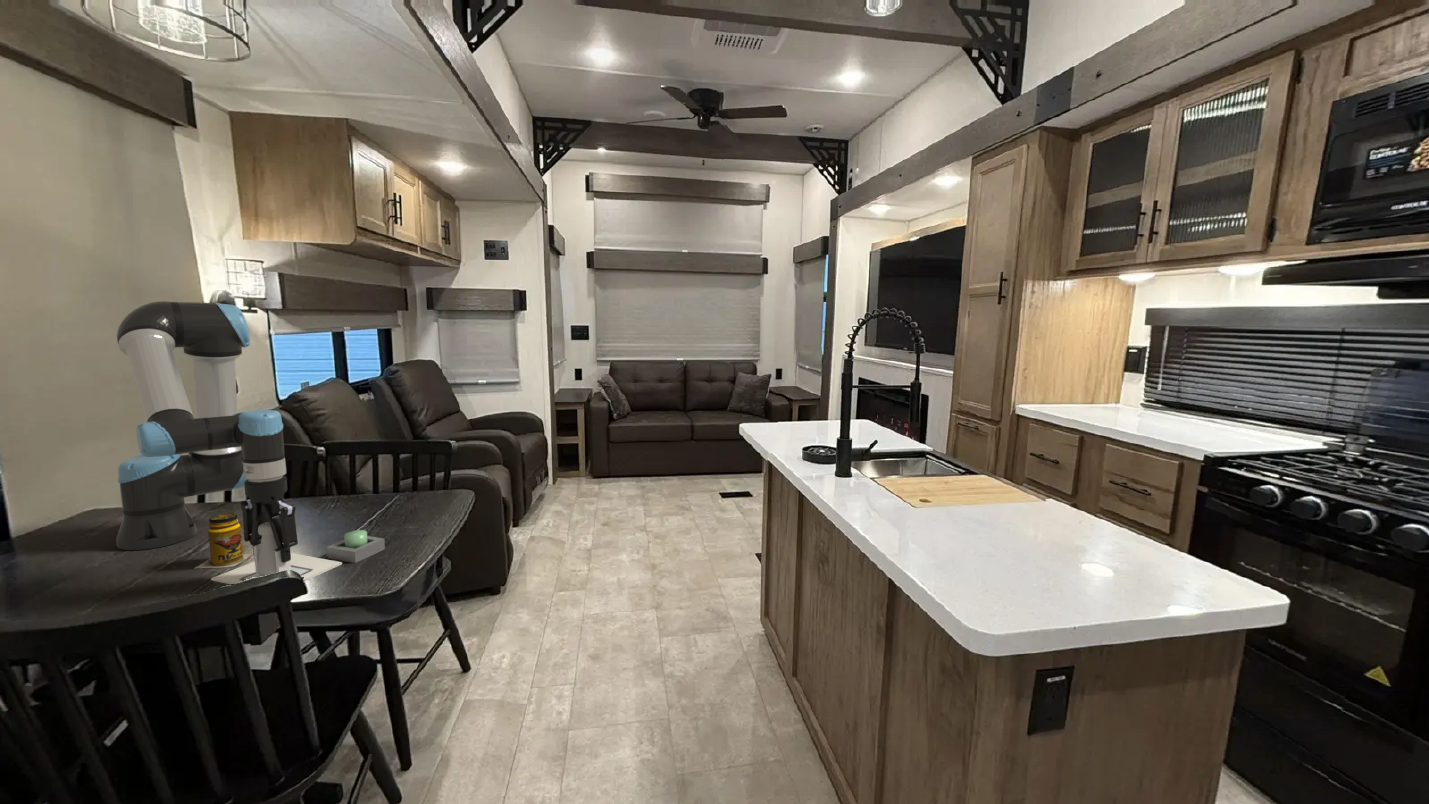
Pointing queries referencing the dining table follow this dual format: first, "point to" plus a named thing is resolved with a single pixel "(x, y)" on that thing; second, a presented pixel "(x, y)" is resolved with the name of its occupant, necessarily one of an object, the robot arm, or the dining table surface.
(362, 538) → the button
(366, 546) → the button housing
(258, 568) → the salt shaker
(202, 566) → the condiment
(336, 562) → the colouring board
